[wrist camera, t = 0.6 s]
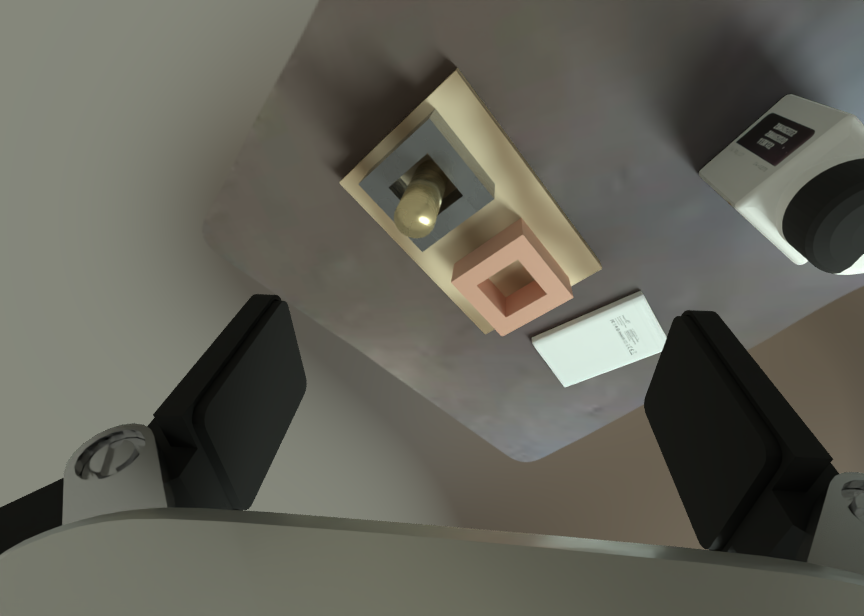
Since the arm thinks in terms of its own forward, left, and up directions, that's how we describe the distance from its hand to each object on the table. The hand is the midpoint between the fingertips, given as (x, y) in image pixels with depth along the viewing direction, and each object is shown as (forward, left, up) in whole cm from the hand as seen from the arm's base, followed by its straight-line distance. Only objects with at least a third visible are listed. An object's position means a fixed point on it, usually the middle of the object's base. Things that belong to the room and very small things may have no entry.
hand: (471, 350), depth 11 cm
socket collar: (+8, +13, -29) cm, 33 cm away
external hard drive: (+6, +27, -32) cm, 42 cm away
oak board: (+8, +7, -31) cm, 32 cm away
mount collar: (+8, +1, -29) cm, 30 cm away
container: (-14, +18, -31) cm, 39 cm away
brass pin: (+8, +1, -29) cm, 30 cm away
